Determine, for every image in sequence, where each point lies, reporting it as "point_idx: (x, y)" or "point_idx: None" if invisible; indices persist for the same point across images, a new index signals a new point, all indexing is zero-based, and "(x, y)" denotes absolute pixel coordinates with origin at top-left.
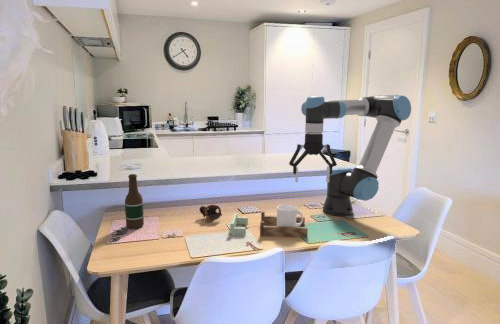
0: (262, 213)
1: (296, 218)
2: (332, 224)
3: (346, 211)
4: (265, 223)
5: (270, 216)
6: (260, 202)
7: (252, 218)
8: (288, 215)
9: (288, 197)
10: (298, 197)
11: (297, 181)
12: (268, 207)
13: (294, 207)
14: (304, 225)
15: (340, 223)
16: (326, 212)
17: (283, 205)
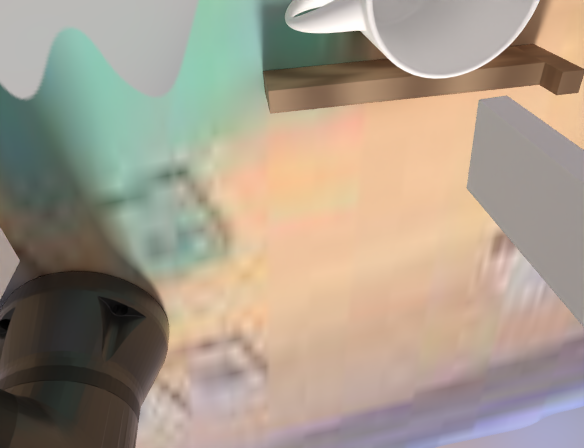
0: (571, 68)
1: (325, 83)
2: (85, 137)
3: (18, 302)
4: (511, 49)
5: (503, 73)
6: (471, 352)
7: None
8: None
9: (337, 428)
10: (292, 438)
11: (487, 103)
12: (443, 305)
13: (379, 35)
14: (263, 72)
15: (37, 164)
16: (143, 294)
17: (471, 64)
